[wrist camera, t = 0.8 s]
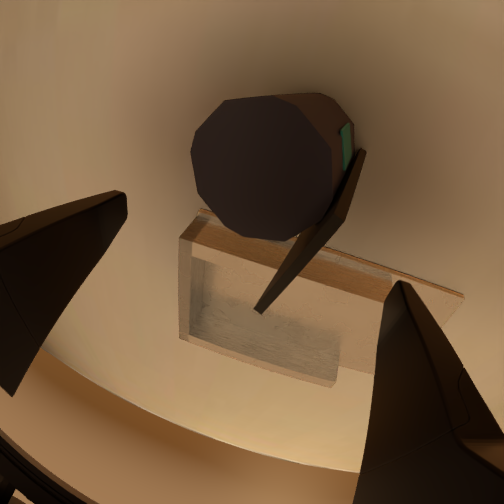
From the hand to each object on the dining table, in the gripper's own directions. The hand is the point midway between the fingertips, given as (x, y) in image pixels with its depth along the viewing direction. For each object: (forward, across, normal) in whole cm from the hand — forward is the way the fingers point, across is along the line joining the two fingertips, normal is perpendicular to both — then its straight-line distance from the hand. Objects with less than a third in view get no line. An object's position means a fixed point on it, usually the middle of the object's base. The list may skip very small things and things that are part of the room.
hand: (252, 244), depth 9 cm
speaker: (+11, 0, 0) cm, 11 cm away
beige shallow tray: (+11, -5, +13) cm, 18 cm away
